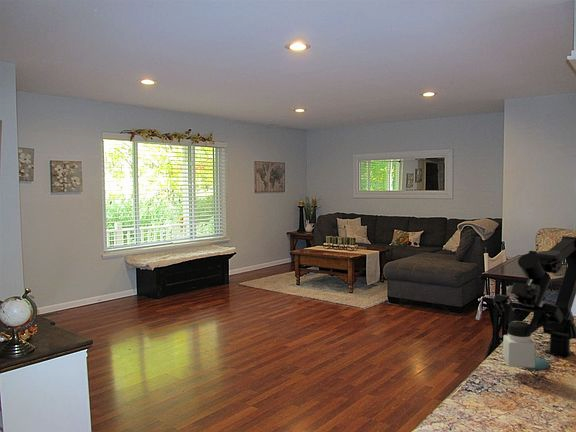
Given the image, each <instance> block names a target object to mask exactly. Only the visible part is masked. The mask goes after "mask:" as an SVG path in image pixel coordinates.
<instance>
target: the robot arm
mask: <svg viewBox="0 0 576 432" xmlns="http://www.w3.org/2000/svg"><path fill="white" fill-rule="evenodd" d="M564 260H565V262H566V264H567V265H566V269H565V271H564V275H563V277H562V280H561V281H562V282H561V283H560V284H561V285H560V287H559V291H558V293H557V296H556V297H557V298H556V300H555V303H554V304H553V303H552V304H550V303H548V302H545V300H546V296H545V295H546V293H547V290H548V287H549V286H553V281H552V277H551V276H550V274H557V273H559V271H561V269H562V268H563V261H564ZM517 263H518V266H519V268H520V270H521V272H522V274H523V275H524V277H525V278H527V281H526V283H525V284H524V283H517V282H513V283H512V287H511V291H510V294H511V295H515V297H514V298H515V300H517V301H513V300H512V299H511V297H510V296H509V295H505V294H500V293H497V294H495V295H494V297H493V299H492V301H493V304H494V305H495V306H496V308H497V309H498V310H499V311H501V312H504V321H503V322H504V326H503V327H504V330H505V331H508V323H509V322H512V321H515V319H516V316H517V314H516V313H515V309H516V310H521V311H525V312H530V313H533V314H532V318H531V320H530V322H529V323H528V324H529V326H528V328H527V331H526V335H527V336H529V335H530V334H531V335H532V334H533V333H534V332H535V331H538V330H539V329H540V328H543V334H547V335H549V348H548V349H546V350H544V353H545V354H549V355H553V356H557V357H560V358H564V359H565V358H569V357H570V356H573V355H574V354H575V352H574V351H571V350H570V349H571V340H574V339H576V324H575V322H574V320H575V317H574V314H573V312H572V308H573V305H574V301H575V297H576V236H570V235H569V236H567V235H565V236H562V238H561V240H560V241H558V242H557V243H556V244H555V245H554V246H552V247H551V248H550V249H547V250H541V251H538V252H537V251H535V250H529V251H528V253H525V254H523V255H521V256H520V257H519V258H518V260H517ZM543 301H544V303H543V304H542V302H543ZM541 304H542V305H541Z"/></svg>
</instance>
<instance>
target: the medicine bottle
mask: <svg viewBox="0 0 576 432" xmlns="http://www.w3.org/2000/svg"><path fill="white" fill-rule="evenodd" d="M529 324H530V323H528V322H525V321H521V320H513V321H512V322H509V323H508V330H507V334H504V335H503V341H502V342H503V344H502V345H503V346H502V347H503V348H502V349H503V354H502V355H503V359H504V360H505V362H506V364H507V365H508V367H513V368H515V367H516V368H523V367H529V368H535V357H536V351H537V348H536V345H537V344H536V342H534V340H533V339H532V337H531V336H532V333H531V334H530V335H529V336H527V335H526V331H527V328H528V326H529Z"/></svg>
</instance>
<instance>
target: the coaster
mask: <svg viewBox="0 0 576 432" xmlns="http://www.w3.org/2000/svg"><path fill="white" fill-rule="evenodd" d="M549 367H550V365H549V361H547V360H546V359H544V358H542V357H538V356H535V368H529V367H522V368H524V369H527V370H528V369H529V370H534V371H535V370H537V371H538V370H546V369H548V368H549Z"/></svg>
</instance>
